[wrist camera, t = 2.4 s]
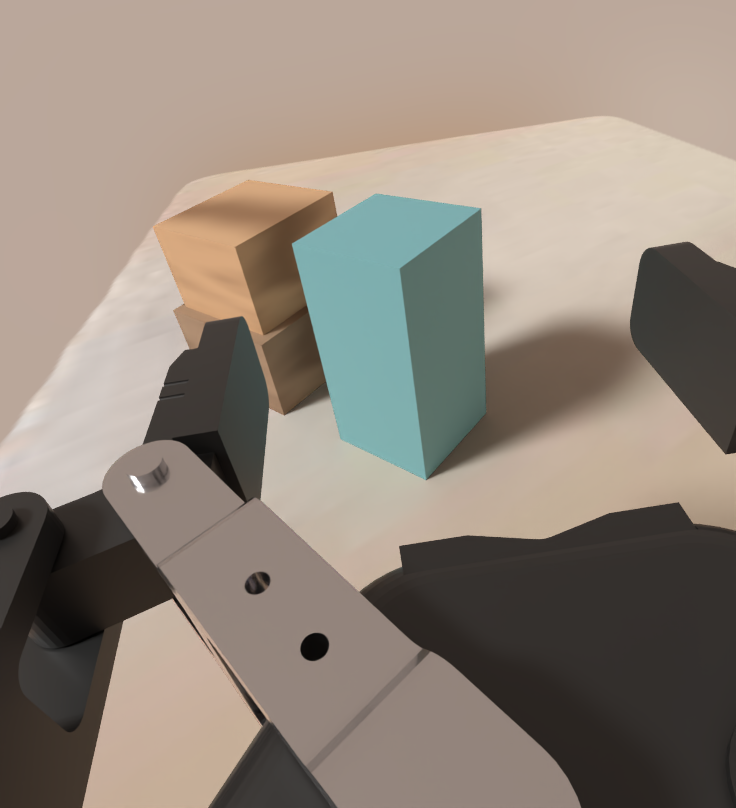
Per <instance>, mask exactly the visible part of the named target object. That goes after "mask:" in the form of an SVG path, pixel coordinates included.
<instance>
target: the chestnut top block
mask: <svg viewBox="0 0 736 808" xmlns="http://www.w3.org/2000/svg"><path fill="white" fill-rule="evenodd" d="M336 217H337V213H336V208H335V202H334V197H333V192H330V191H323V190H315V189H308V188H301V187H294V186H287V185H280V184H273V183H266V182H259V181H252V180H247V181H245V182H243V183H241V184H239V185H237V186H235V187H233V188H231V189H229V190H227V191H225V192H223V193H221V194H218V195H216V196H214V197H212V198H210V199H208V200H206V201H204V202H202V203H200V204H198V205H196V206H194V207H192V208H190V209H188V210H186V211H184V212H182V213H180V214H178V215H175V216H173V217H171V218H169V219H167V220H165V221H163V222H161V223H159V224H157V225H155V226H153V228H154V231H155V233H156V236H157V238H158V240H159V243H160V245H161V248H162V250H163V253H164V255H165V257H166V260H167V262H168V265H169V267H170V270H171V272H172V275H173V277H174V279H175V282H176V284H177V287H178V289H179V292H180V294H181V296H182V299H183V301H184V304H185V306H186V307H188V308H191V309H193V310H196V311H199V312H201V313H204V314H207V315H210V316H212V317H215V318H218V319H220V320H222V319H228V318H233V317H239V316H243V317H244V318H245V320H246V322H247V324H248V327H249V330H250V331H253V332H255V333H258V334H261V335H263V336H264V335H265V334H266V333H268V332H269V331H271V330H272V329H274V328H275V327H276V326H278V325H279V324H281V323H282V322H284V321H285V320H286V319H288V318H289V317H291V316H292V315H294V314H295V313H296V312H298V311H299V310H301V309H302V308H304V307H305V306H306V305H307V303H306V299H305V295H304V291H303V287H302V283H301V279H300V275H299V271H298V267H297V263H296V259H295V255H294V251H293V247H292V243H294V242H296V241H297V240H299V239H301V238H302V237H304V236H306V235H307V234H309V233H311V232H312V231H314V230H316V229H317V228H319V227H321V226H322V225H324V224H326V223H327V222H329V221H331V220H332V219H334V218H336Z"/></svg>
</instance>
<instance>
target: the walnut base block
mask: <svg viewBox="0 0 736 808" xmlns="http://www.w3.org/2000/svg"><path fill="white" fill-rule="evenodd" d="M173 311H174V313H175V316H176V318H177V320H178V323H179V325H180V327H181V330H182V332H183V334H184V337H185V339H186V341H187V344H188V346H189V348H190V349H195V348H198V345H199V342H200V339H201V335H202V332H203V328H204V325H205V323H206V322H210V321H216V320H220V319H218V318H215V317H212V316H210V315H207V314H204V313H201V312H199V311H196V310H193V309H191V308H188V307H186V306H185V304H183V305H182V306H180V307H178V308H176V309H175V310H173ZM250 333H251V336H252V339H253V343H254V346H255V349H256V352H257V355H258V358H259V361H260V364H261V367H262V370H263V374H264V377H265V380H266V384H267V389H268V396H269V408H270V409H272V410H274V411H276V412H279V413H281V414H283V415H285V414H286V413H288V412H289V411H290V410H291V409H293V408H294V407H295V406H296V405H298V404H299V403H300V402H301V401H302V400H304V399H305V398H306V397H307V396H309V395H310V394H311V393H312V392H314V391H315V390H316V389H317V388H318V387H320V386H321V385H322V384H323V383H325V382H326V378H325V374H324V370H323V366H322V362H321V358H320V354H319V350H318V346H317V342H316V338H315V334H314V330H313V326H312V322H311V318H310V314H309V311H308V307H307V305H306V306H305V307H304V308H302V309H301V310H299V311H298V312H296V313H295V314H294V315H292V316H291V317H289V318H288V319H286V320H285V321H284V322H282V323H281V324H279V325H278V326H276V327H275V328H274V329H272V330H271V331H269V332H268V333H266V334H265V335H264V336H263V335H261V334H258V333H255V332H253V331H250Z"/></svg>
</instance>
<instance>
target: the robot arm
mask: <svg viewBox="0 0 736 808" xmlns="http://www.w3.org/2000/svg"><path fill="white" fill-rule="evenodd" d="M630 329H631V335H632V339H633V341H634V344H635V346H636V347H637V349H638V350H639V351H640V352H641V354H642V355H643V356H644V357H645V358H646V360H647V361H648V362H649V363H650V364H651V366H652V367H653V368H654V369H655V370H656V372H657V373H658V374H659V375H660V376H661V378H662V379H663V380H664V381H665V382H666V384H667V385H668V386H669V387H670V388H671V390H672V391H673V392H674V393H675V394H676V396H677V397H678V398H679V399H680V400H681V402H682V403H683V404H684V405H685V406H686V408H687V409H688V410H689V411H690V412H691V414H692V415H693V416H694V417H695V418H696V420H697V421H698V422H699V423H700V424H701V426H702V427H703V428H704V429H705V430H706V432H707V433H708V434H709V435H710V436H711V438H712V439H713V440H714V441H715V442H716V444H717V445H718V446H719V447H720V448H721V449H722V451H723V452H724V453H725V454H731V453H736V268H734V267H731V266H728V265H726V264H723V263H720V262H716V261H715V260H714V259H712V258H711V257H710V256H708V255H707V254H706V253H704V252H703V251H702V250H700V249H699V248H698V247H696V246H695V245H694V244H692V243H690V242H682V243H676V244H670V245H664V246H659V247H653V248H648V249H646V250H645V251H644V253H643V254H642V256H641V259H640V264H639V270H638V276H637V282H636V288H635V294H634V299H633V305H632V311H631V318H630ZM159 399H160V401H158V402H157V405H156V408H155V410H154V413H153V416H152V419H151V422H150V425H149V428H148V431H147V434H146V437H145V439H144V442H143V445H141V446H138V447H136V448H134V449H132V450H131V451H129V452H127V453H126V454H124V455H123V456H122V457H120V458H119V459H118V460H117V461H116V462H115V463H114V464H113V465H112V466H111V467H110V469H109V470H108V471H107V473H106V475H105V477H104V480H103V484H102V489H101V490H99V491H97V492H95V493H93V494H90V495H88V496H85V497H82V498H80V499H77V500H75V501H72V502H70V503H67V504H65V505H62V506H60V507H57V508H55V509H52V508H51V507H50V506H49V504H48V503H47V502H46V500H45V499H44V498H43V497H42V496H40V495H38V494H36V493H31V492H20V493H14V494H10V495H6V496H4V497H1V498H0V808H82V806H83V801H84V797H85V792H86V788H87V783H88V778H89V774H90V769H91V765H92V760H93V756H94V751H95V747H96V742H97V738H98V733H99V729H100V724H101V719H102V715H103V710H104V706H105V701H106V697H107V692H108V688H109V683H110V679H111V674H112V670H113V665H114V660H115V656H116V651H117V647H118V642H119V638H120V633H121V629H122V624H123V621H124V620H126V619H128V618H130V617H133V616H135V615H137V614H139V613H141V612H144V611H146V610H148V609H150V608H152V607H155V606H157V605H159V604H161V603H163V602H166V601H168V600H170V599H172V600H173V602H174V603H175V604H176V606H177V607H178V609H179V610H180V612H181V613H182V614H183V616H184V617H185V619H186V620H187V621H188V623H189V624H190V626H191V627H192V628H193V630H194V631H195V633H196V634H197V635H198V637H199V638H200V640H201V641H202V642H203V644H204V645H205V647H206V648H207V649H208V651H209V652H210V654H211V655H212V656H213V658H214V659H215V661H216V662H217V663H218V665H219V666H220V668H221V669H222V671H223V672H224V673H225V675H226V676H227V678H228V679H229V681H230V682H231V684H232V685H233V687H234V688H235V690H236V691H237V693H238V694H239V696H240V697H241V698H242V700H243V701H244V703H245V704H246V706H247V707H248V709H249V710H250V712H251V713H252V714H253V716H254V717H255V719H256V720H257V721H258V723H259V724H260V726H261V727H262V728H261V729H260V731H259V732H258V734H257V735H256V737H255V738H254V740H253V741H252V743H251V744H250V746H249V747H248V749H247V750H246V752H245V753H244V755H243V756H242V758H241V759H240V761H239V762H238V764H237V765H236V767H235V768H234V770H233V771H232V773H231V774H230V776H229V777H228V779H227V780H226V782H225V783H224V785H223V786H222V788H221V789H220V791H219V792H218V794H217V795H216V797H215V798H214V800H213V801H212V803H211V804H210V806H209V807H208V808H736V531H734V530H730V529H725V528H721V527H715V526H709V525H702V524H693V523H692V521H691V520H690V519H689V517H688V516H687V514H686V513H685V511H684V510H683V508H682V507H681V505H680V504H679V502H678V503H672V504H665V505H659V506H653V507H646V508H640V509H633V510H627V511H621V512H614V513H609V514H606V515H604V516H601V517H599V518H596V519H594V520H592V521H589V522H587V523H584V524H582V525H579V526H577V527H574V528H572V529H569V530H567V531H565V532H562V533H560V534H557V535H555V536H552V537H549V538H546V539H521V538H503V537H485V536H468V535H467V536H461V537H454V538H448V539H441V540H435V541H429V542H422V543H416V544H409V545H403V546H399V548H400V555H401V561H402V567H401V568H398V569H396V570H393V571H391V572H389V573H387V574H385V575H384V576H382V577H380V578H378V579H376V580H375V581H373V582H372V583H370V584H369V585H368V586H366V587H365V588H363V589H362V590H361V591H360V592H358V591H357V590H356V589H355V588H354V587H353V586H352V585H351V584H350V583H349V582H348V581H347V580H346V579H344V578H343V577H342V576H341V575H340V574H339V573H338V572H337V571H336V570H335V569H334V568H333V567H332V566H331V565H329V564H328V563H327V562H326V561H325V560H324V559H323V558H322V557H321V556H320V555H319V554H318V553H317V552H316V551H314V550H313V549H312V548H311V547H310V546H309V545H308V544H307V543H306V542H305V541H304V540H303V539H302V538H301V537H300V536H298V535H297V534H296V533H295V532H294V531H293V530H292V529H291V528H290V527H289V526H288V525H287V524H286V523H285V522H283V521H282V520H281V519H280V518H279V517H278V516H277V515H276V514H275V513H274V512H273V511H272V510H271V509H270V508H268V507H267V506H266V505H265V504H264V503H263V502H262V501H260V498H261V488H262V477H263V466H264V456H265V445H266V434H267V423H268V413H269V396H268V389H267V384H266V380H265V377H264V374H263V370H262V367H261V364H260V361H259V358H258V355H257V352H256V349H255V346H254V343H253V339H252V336H251V333H250V330H249V327H248V324H247V322H246V320H245V318H244V317H243V316H239V317H233V318H228V319H222V320H216V321H210V322H206V323H205V325H204V328H203V332H202V335H201V339H200V342H199V345H198V348H195V349H189V350H185V351H184V352H183V353H182V354H181V355H180V356H179V357H178V358H177V359H176V360H175V361H174V362H173V364H172V365H171V366H170V367H169V370H168V373H167V376H166V379H165V381H164V387H162V390H161V393H160V396H159Z"/></svg>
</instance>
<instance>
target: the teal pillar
mask: <svg viewBox="0 0 736 808" xmlns="http://www.w3.org/2000/svg"><path fill="white" fill-rule="evenodd" d="M292 247H293V251H294V255H295V259H296V263H297V267H298V271H299V275H300V279H301V283H302V287H303V291H304V295H305V299H306V303H307V307H308V311H309V314H310V318H311V322H312V326H313V330H314V334H315V338H316V342H317V346H318V350H319V354H320V358H321V362H322V366H323V370H324V374H325V378H326V382H327V386H328V390H329V394H330V398H331V402H332V406H333V410H334V414H335V418H336V422H337V426H338V430H339V434H340V438H341V439H342V440H344V441H346V442H348V443H350V444H352V445H354V446H356V447H358V448H360V449H363V450H365V451H367V452H369V453H371V454H373V455H375V456H377V457H379V458H381V459H383V460H386V461H388V462H390V463H392V464H394V465H396V466H398V467H400V468H402V469H404V470H406V471H408V472H411V473H413V474H415V475H417V476H419V477H421V478H423V479H425V480H427V478H428V477H429V476H430V475H431V474H432V473H433V472H434V471H435V470H436V468H437V467H438V466H439V465H440V464H441V463H442V462H443V461H444V460H445V458H446V457H447V456H448V455H449V454H450V453H451V452H452V451H453V450H454V448H455V447H456V446H457V445H458V444H459V443H460V442H461V441H462V439H463V438H464V437H465V436H466V435H467V434H468V433H469V432H470V431H471V429H472V428H473V427H474V426H475V425H476V424H477V423H478V422H479V421H480V419H481V418H482V417H483V416H484V415H485V414H486V385H485V344H484V302H483V260H482V219H481V208H474V207H467V206H460V205H453V204H446V203H439V202H432V201H425V200H418V199H411V198H404V197H396V196H389V195H382V194H374V195H373V196H371V197H369V198H368V199H366V200H364V201H363V202H361V203H359V204H358V205H356V206H354V207H353V208H351V209H349V210H348V211H346V212H344V213H343V214H341V215H339V216H338V217H336V218H334V219H332V220H331V221H329V222H327V223H326V224H324V225H322V226H321V227H319V228H317V229H316V230H314V231H312V232H311V233H309V234H307V235H306V236H304V237H302V238H301V239H299V240H297V241H296V242H294V243H292Z"/></svg>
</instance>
